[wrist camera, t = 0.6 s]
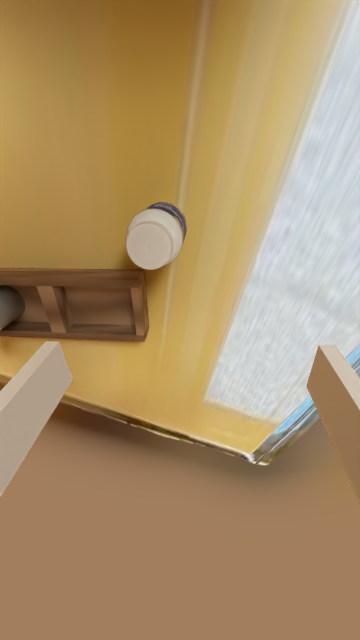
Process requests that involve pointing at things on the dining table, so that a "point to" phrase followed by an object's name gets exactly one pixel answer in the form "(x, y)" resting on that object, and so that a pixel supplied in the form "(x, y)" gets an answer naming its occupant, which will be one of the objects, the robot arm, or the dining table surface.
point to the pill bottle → (156, 235)
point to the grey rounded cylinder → (10, 305)
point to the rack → (79, 304)
